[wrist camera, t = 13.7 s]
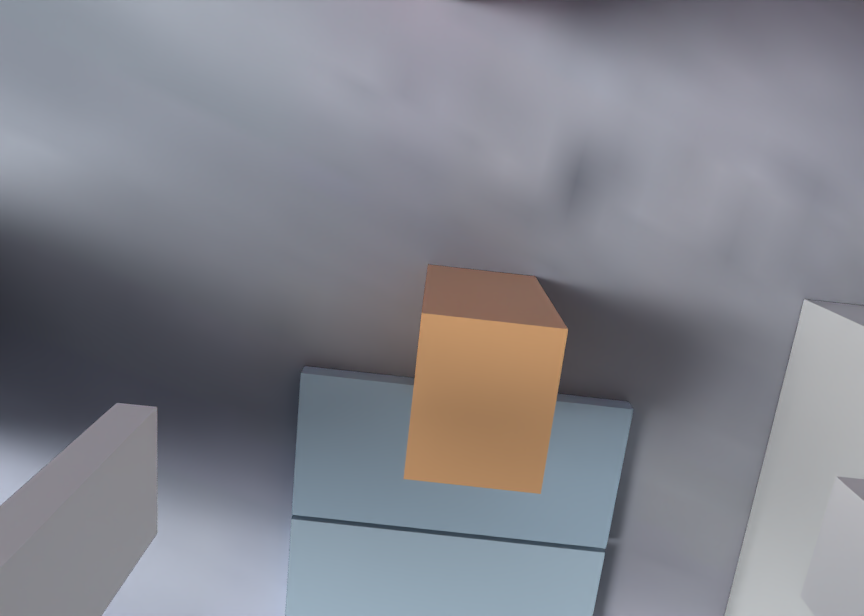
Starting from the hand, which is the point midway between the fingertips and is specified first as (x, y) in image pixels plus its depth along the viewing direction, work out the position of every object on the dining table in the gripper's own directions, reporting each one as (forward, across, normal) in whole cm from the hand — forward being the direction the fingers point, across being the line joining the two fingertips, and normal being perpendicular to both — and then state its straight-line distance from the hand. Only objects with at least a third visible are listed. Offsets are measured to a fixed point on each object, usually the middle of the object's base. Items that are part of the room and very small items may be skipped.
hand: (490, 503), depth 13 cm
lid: (+13, 0, -10) cm, 16 cm away
